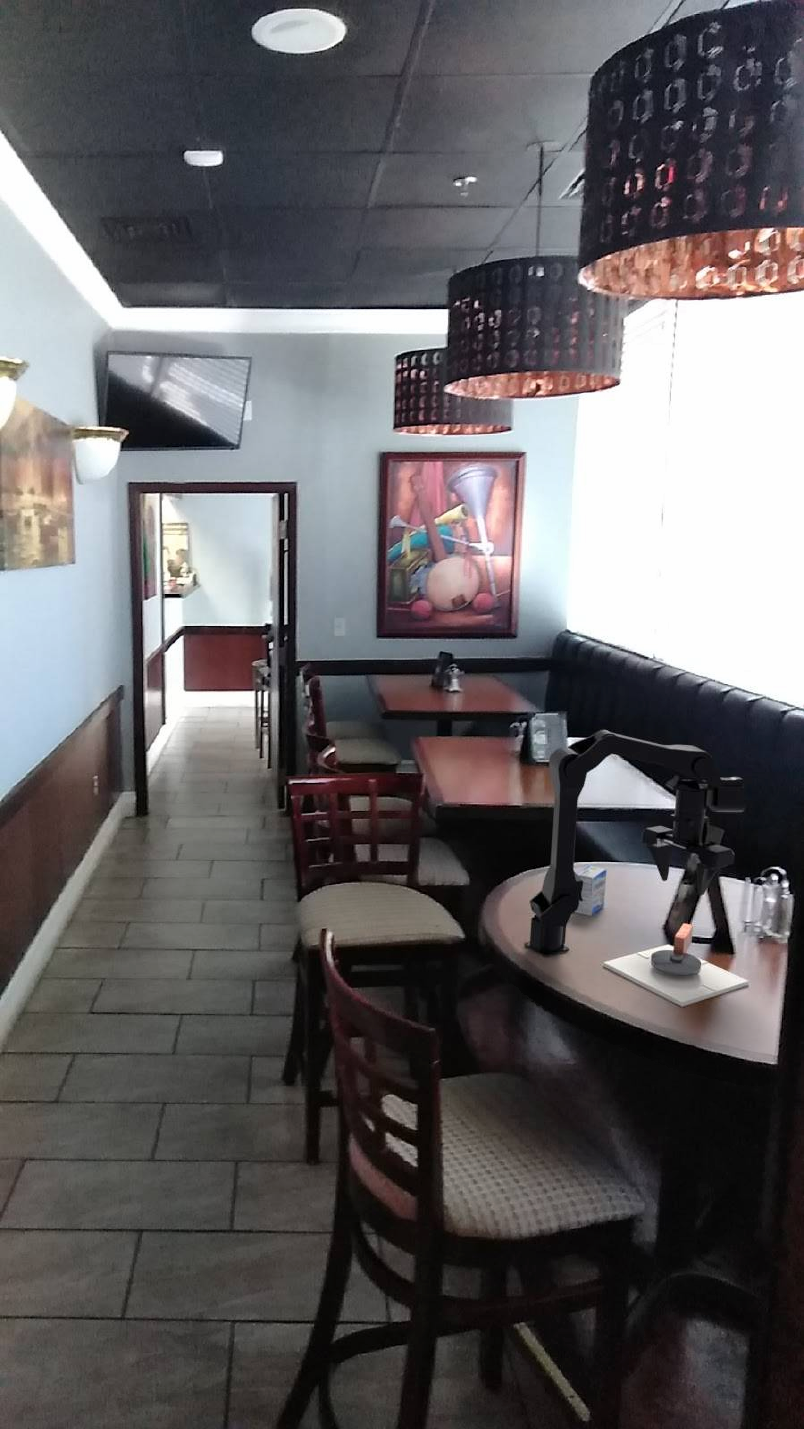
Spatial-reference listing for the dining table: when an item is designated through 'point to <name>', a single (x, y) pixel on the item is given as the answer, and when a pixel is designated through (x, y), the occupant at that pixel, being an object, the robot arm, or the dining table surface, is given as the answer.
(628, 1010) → the dining table surface
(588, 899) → the medicine box
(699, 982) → the wheel board
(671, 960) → the handwheel
